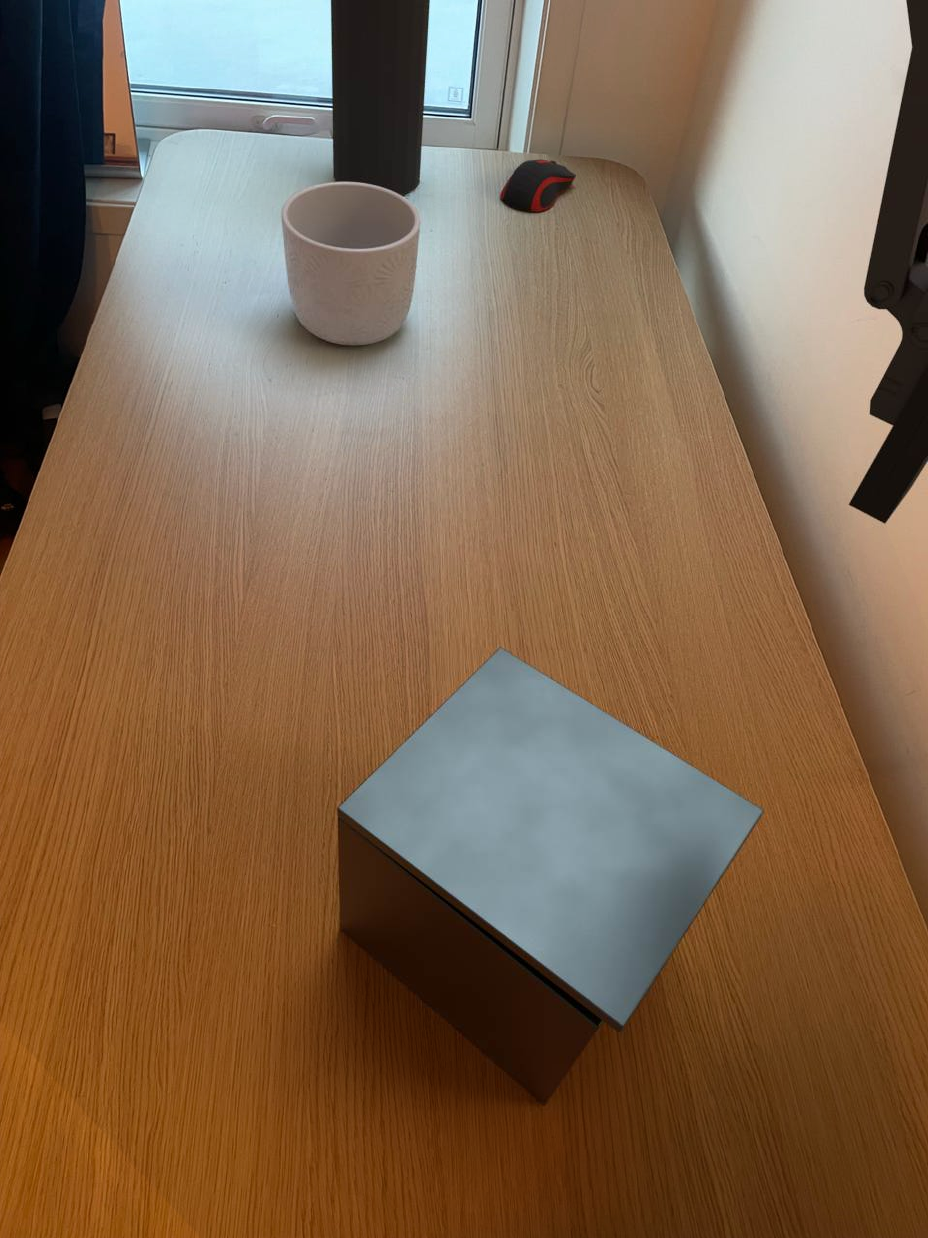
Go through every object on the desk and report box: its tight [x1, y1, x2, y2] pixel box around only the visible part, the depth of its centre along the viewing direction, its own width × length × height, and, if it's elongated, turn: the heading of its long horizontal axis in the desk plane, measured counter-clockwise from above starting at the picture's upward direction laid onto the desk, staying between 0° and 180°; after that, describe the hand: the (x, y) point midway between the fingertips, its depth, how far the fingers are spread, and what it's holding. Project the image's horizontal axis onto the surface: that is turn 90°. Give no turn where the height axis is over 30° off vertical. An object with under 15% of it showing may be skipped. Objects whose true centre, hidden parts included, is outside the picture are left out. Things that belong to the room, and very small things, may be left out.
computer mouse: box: [499, 159, 577, 213], centre depth 111 cm, size 6×11×4 cm, turn 149°
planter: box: [280, 181, 421, 346], centre depth 88 cm, size 12×12×11 cm
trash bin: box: [337, 816, 604, 1107], centre depth 50 cm, size 15×13×14 cm
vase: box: [330, 0, 431, 196], centre depth 100 cm, size 10×10×30 cm
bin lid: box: [336, 646, 764, 1034], centre depth 44 cm, size 15×13×1 cm
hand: (880, 495), depth 36 cm, fingers closed
